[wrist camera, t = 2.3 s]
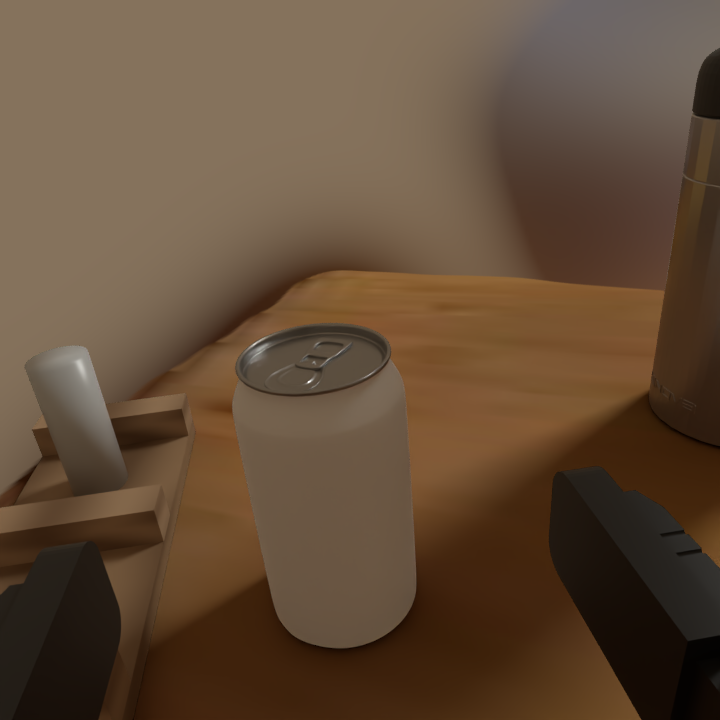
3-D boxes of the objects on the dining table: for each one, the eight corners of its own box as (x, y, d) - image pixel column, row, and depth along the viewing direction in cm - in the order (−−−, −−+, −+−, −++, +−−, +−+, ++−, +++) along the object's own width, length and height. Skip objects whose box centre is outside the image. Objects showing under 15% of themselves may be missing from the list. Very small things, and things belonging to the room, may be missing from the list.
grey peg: (133, 463, 35) (94, 342, 32) (121, 495, 33) (78, 367, 29) (81, 471, 35) (36, 349, 32) (65, 503, 33) (15, 375, 29)
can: (244, 626, 26) (184, 383, 20) (318, 527, 31) (285, 311, 25) (382, 678, 23) (353, 414, 17) (437, 560, 28) (428, 327, 23)
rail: (195, 431, 40) (185, 393, 39) (126, 751, 21) (102, 697, 20) (58, 451, 39) (43, 412, 38) (-140, 799, 20) (-183, 747, 19)
